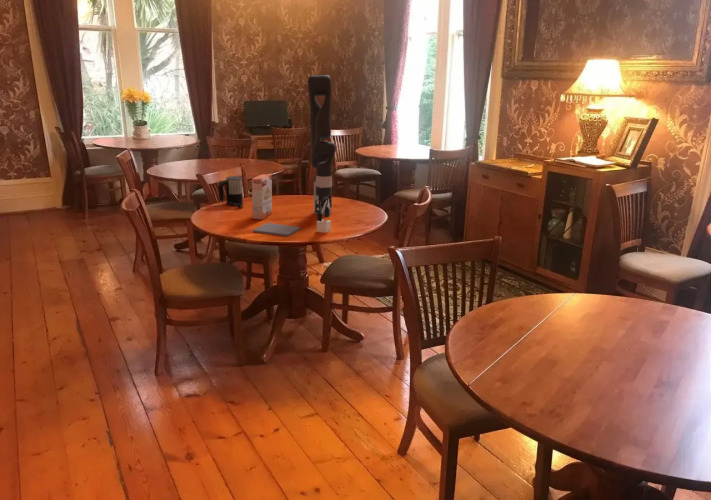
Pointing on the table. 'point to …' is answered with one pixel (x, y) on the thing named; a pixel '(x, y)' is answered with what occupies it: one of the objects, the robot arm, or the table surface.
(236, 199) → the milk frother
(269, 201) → the cracker box
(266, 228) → the slate mat
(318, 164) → the robot arm
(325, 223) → the cream cube
